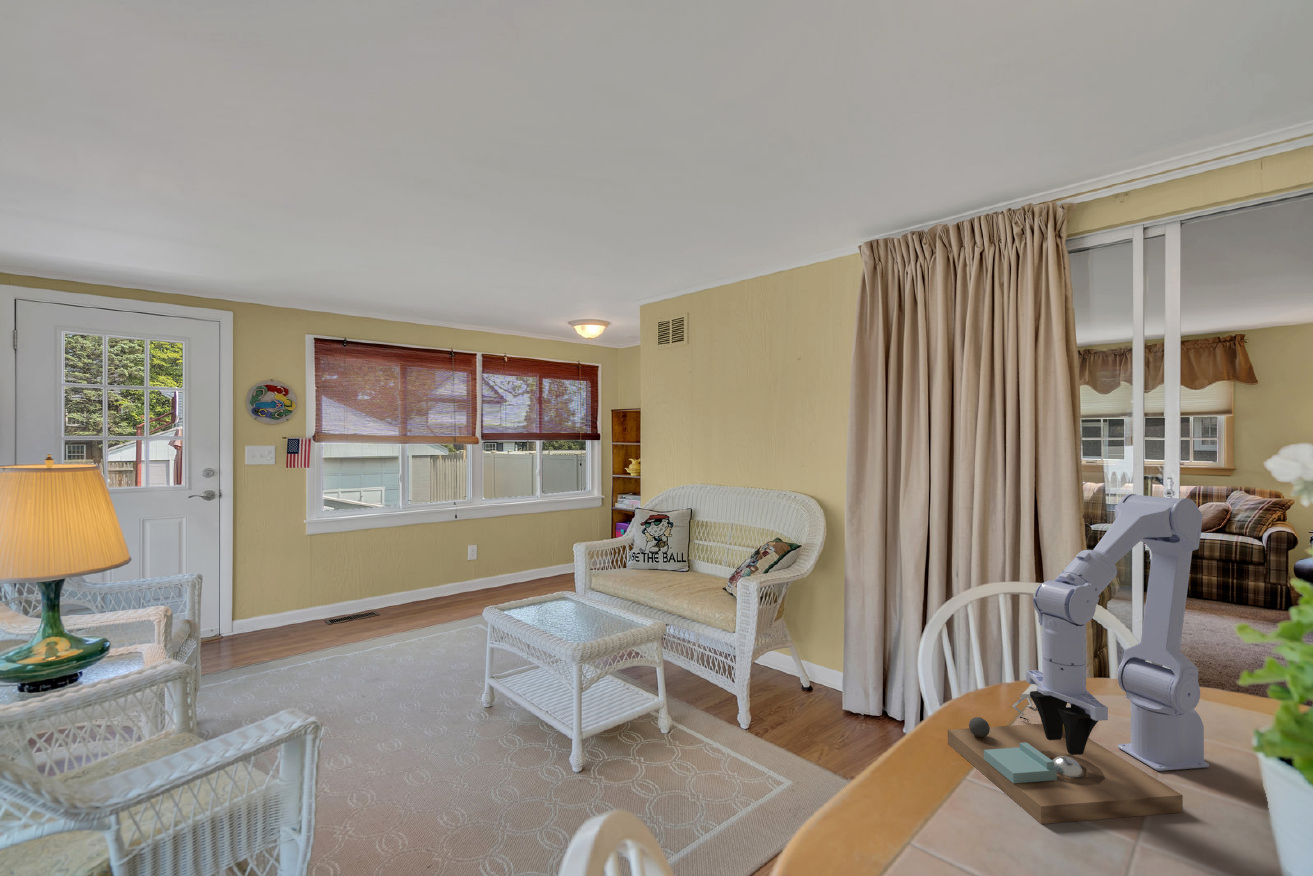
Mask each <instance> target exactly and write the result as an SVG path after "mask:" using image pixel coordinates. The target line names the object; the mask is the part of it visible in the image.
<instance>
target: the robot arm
mask: <svg viewBox="0 0 1313 876" xmlns="http://www.w3.org/2000/svg"><path fill="white" fill-rule="evenodd" d="M1203 516H1204V515H1203V513H1202V511H1201V510H1200V508H1199V507H1198V505H1197V504H1196V503H1195V501H1194V500H1193V499H1191V498H1188V497H1186V498H1185V497H1181V498H1179V497H1178V498H1175V497H1165V496H1153V495H1139V494H1136V493H1127V494H1125V495H1123V497H1122V498H1121V499H1120V501H1119V502H1118V503H1117V504H1116V505H1115V506H1114V518H1115V520H1113V523H1112V524H1111V525H1110V526H1109V528H1108V529H1107V530H1106V532H1105V534H1103V536H1102V537H1101V539H1100V540H1099V541H1098V543H1097V544H1095V545H1096V546H1095V547H1094V548H1093V549H1084V550H1080V551H1079V552H1078V553H1077V555H1076V556H1075V557H1074V558H1073V559H1072V560H1071V562H1070V563H1069V564H1068V565H1067V566H1066V567H1065V568H1064V569H1063V570H1062V571H1061V572H1060V573H1059V574H1058V575H1057V576H1056V578H1054V580H1053V579H1049V580H1046V581H1045V582H1042V583H1040V584H1039V585H1038V586H1037V587H1036V590H1035V593H1034V597H1032V605H1033V608H1034V610H1035V611H1036V613H1037V615H1038V616H1037V617H1038V618H1037V619H1038V623H1039V625H1040V626H1041V627H1042V630H1041V636H1042V638H1041V640H1042V649H1041V650H1042V672H1041V671H1039V670H1037V669H1033V670H1031V669H1030V670H1025V672H1026V673H1025V675H1026V676H1025V677H1026V678H1025V682H1026V683H1028V684H1029V685H1031V684H1035V685H1037V686H1038V687H1037V691H1031V692H1030V697H1031V698H1030V699H1031V701H1032V703H1034V704H1033V705H1034V706H1035V708H1036V710H1037V712H1038V715H1039V717H1040V721H1041V724H1043V728H1044V732H1045V735H1046V738H1047V739H1048V740H1061V737H1062V733H1063V725H1064V729H1065V736H1066V747H1067V751H1068V753H1069V754H1071V755H1080V754H1083V753H1084V749H1085V746H1086V743H1087V740H1088V738H1090V735H1091V733H1092V731H1093V729H1094V727H1095V726H1096V725H1097V724H1098V722H1099V721H1101V722H1102V721H1108V720H1109V707H1108V706H1106V705H1105V704H1103V703H1102V702H1100V701H1099V700H1098V699H1097V698H1096V697H1095V696H1094V695H1093V694H1092V693H1090V692H1089V690H1087V631H1086V630H1087V623H1089V622H1090V621H1091V620H1093V618H1094V616H1095V613H1096V610H1097V605H1098V603H1099V601H1100V597H1099V596H1100V594H1101V593H1102V592H1103V591H1104V590H1105V589H1106V588H1107V587H1108V585H1109V584H1110V583H1111V582H1112V581H1113V580H1114V579H1115V578H1116V577H1117V576H1118V569H1117V567H1116V564H1117V563H1118V562H1119V561H1120V560H1121V559H1122V558H1123V557H1125V556H1126V555H1127V554H1129V553H1128V552H1130V551H1131V550H1132V549H1133V548H1135V547H1136V546H1137V545H1138V543H1140V542H1142V543H1144V544H1145V545H1146V546H1147V547H1148V548H1149V550H1150V551H1151V560H1150V568H1149V575H1148V583H1147V590H1146V592H1147V593H1146V598H1145V604H1144V605H1145V607H1144V615H1143V623H1142V631H1141V637H1140V642H1139V643H1137V644H1134V645H1132V646H1130V647H1127V648H1125V649H1124V653H1123V657H1122V660H1121V663H1120V664H1119V666H1118V667H1117V670H1116V671H1117V672H1116V678H1117V679H1116V680H1117V683H1118V685H1119V688H1120V690H1122V691H1123V692H1124V693H1125V698H1126V699H1127V700H1130V743H1119V744H1117V748H1118V749H1120V750H1122V751H1123V752H1125V753H1127V754H1129V755H1130V756H1132V757H1133V758H1135V759H1136V760H1138V761H1140V762H1142V763H1144V764H1145V765H1147V766H1148V767H1151V768H1152V769H1154V770H1156V771H1159V772H1162V771H1174V770H1176V771H1178V770H1187V769H1200V768H1209V767H1210V764H1209V763H1208V762H1206V761H1205V731H1204V730H1205V728H1204V727H1205V726H1204V723H1203V720H1202V718H1201V716H1200V714H1199V713H1198V712H1197V710H1195V708H1196V707H1198V705H1199V703H1200V698H1201V689H1200V687H1201V686H1200V684H1199V668H1198V667H1197V666H1196V665H1195V663H1193V662H1192V661H1191V660H1190V659H1189V658H1188V657H1187V656H1186V655H1185V654H1184V653H1183V652H1182V651H1181V646H1182V636H1183V628H1184V622H1185V621H1184V620H1185V613H1186V605H1187V597H1188V589H1189V580H1190V572H1191V565H1192V564H1191V563H1192V556H1193V555H1192V554H1193V551H1197V550H1198V549H1199V548H1200V542H1201V534H1202V527H1203V519H1204V518H1203ZM1068 704H1069V705H1071V707H1067V705H1068Z"/></svg>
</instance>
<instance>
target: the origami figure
mask: <svg viewBox="0 0 1313 876" xmlns="http://www.w3.org/2000/svg"><path fill="white" fill-rule="evenodd" d="M1037 687H1038V686H1037V685H1035V684H1029V686H1028V687H1027V689H1025V690H1024V692H1022V693H1020V698H1019V699H1018V700H1017V701H1015V702H1014V703H1013V704H1012V705H1011V707H1012V708H1013V709H1014V710H1016V711H1017V712H1018V713H1019V714H1020V715H1018V716H1017V718H1020V717H1023V716H1025V715H1026V714H1025V713H1024V712H1023V711H1021V710H1020V709H1019V708H1018V707H1017V706H1018V705H1019V704H1020V703H1022V702H1023V701H1024V700H1027V702H1028V704H1029V705H1028V704H1027V708H1031V707H1033V705H1034V704H1033V701H1032V698H1031V697H1030V692H1031V691H1037ZM1066 707H1070V708H1071V704H1069V705H1068V706H1067V705H1066Z"/></svg>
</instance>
